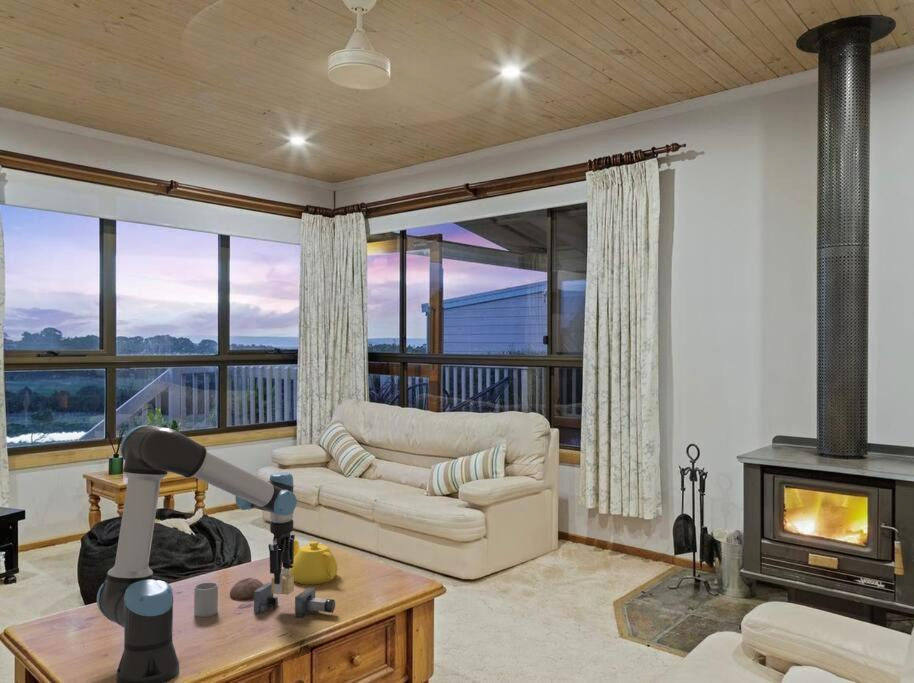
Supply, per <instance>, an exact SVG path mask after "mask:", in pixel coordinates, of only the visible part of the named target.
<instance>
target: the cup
mask: <svg viewBox="0 0 914 683" xmlns="http://www.w3.org/2000/svg"><path fill="white" fill-rule="evenodd" d="M193 590H194V595H193V596H194V598H193V599H194V600H193V602H194V603H193V606H194V607H193V608H194V609H193V610H194V612H193V614H194V616H195V617H198V618H207V617H212V616H215V615H216V614H217V613H218V608H219V606H218V605H219V604H218V603H219V602H218V601H219V584H218V583H217V582H213V581H212V582H210V581H208V582H201V583H198V584H195V585H194V589H193Z"/></svg>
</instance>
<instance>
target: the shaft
mask: <svg viewBox="0 0 914 683" xmlns="http://www.w3.org/2000/svg"><path fill="white" fill-rule="evenodd" d="M335 609H336V600H335V599H333V598H332V599H330V598H321V597H315V598H311V597H307V598H306V610H312V611H311V612H313V611H314V612H322V613H323V612H324V613H331V614H333V612H334V611H335Z"/></svg>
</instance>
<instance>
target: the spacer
mask: <svg viewBox="0 0 914 683" xmlns="http://www.w3.org/2000/svg"><path fill="white" fill-rule="evenodd" d="M270 579H271V582H270V583H271V584H272V593H273V595H274V594H275V595H280V594H279V593H274V576H273V577H271V578H270ZM294 582H295V581H294V575H283V593H282V594H281V595H287V596H288V595H290V594H291V593H293V592H294V591H295V583H294Z"/></svg>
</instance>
